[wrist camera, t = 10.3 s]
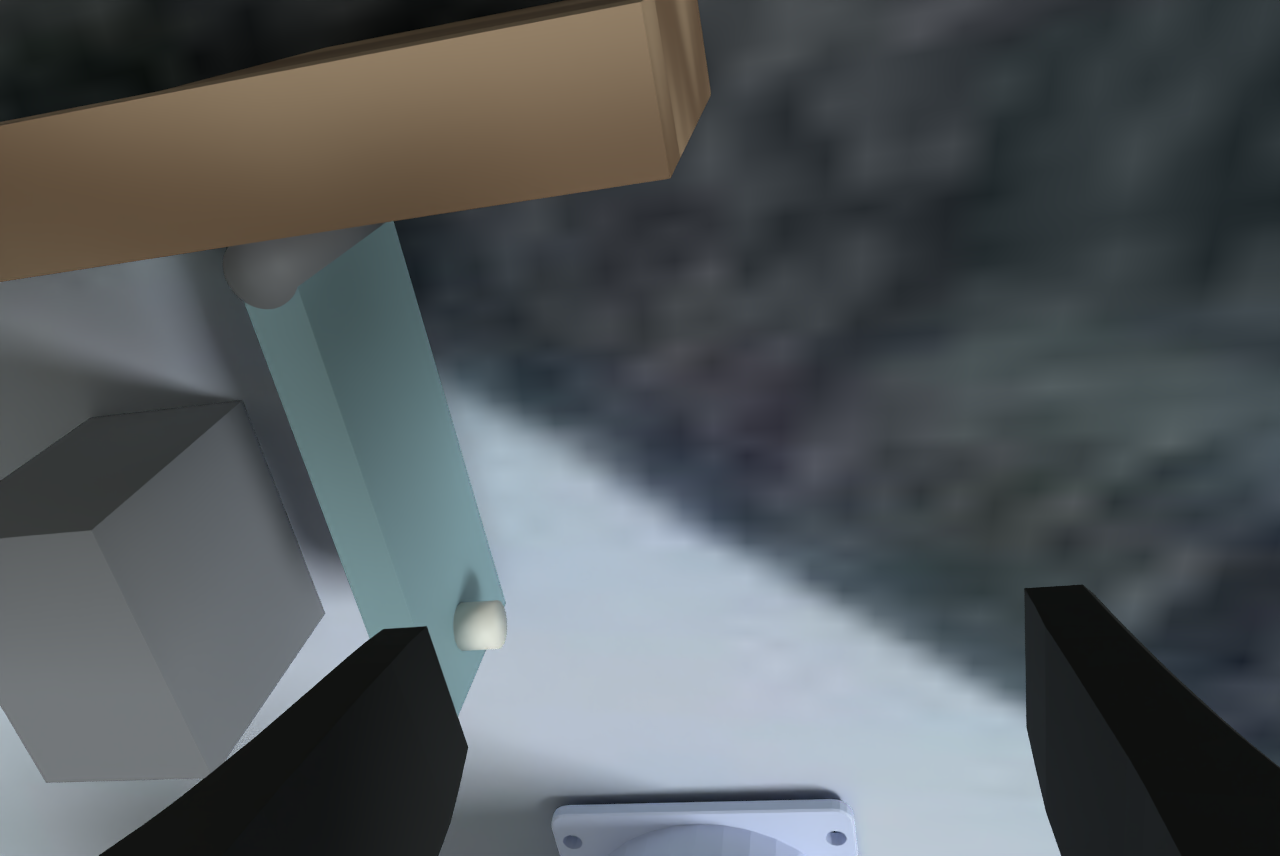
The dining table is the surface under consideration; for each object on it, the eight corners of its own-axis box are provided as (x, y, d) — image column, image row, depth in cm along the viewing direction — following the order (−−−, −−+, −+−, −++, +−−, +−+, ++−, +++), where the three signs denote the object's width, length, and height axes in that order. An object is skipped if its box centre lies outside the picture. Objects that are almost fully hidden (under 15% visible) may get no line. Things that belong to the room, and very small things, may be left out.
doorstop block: (325, 612, 25) (212, 778, 20) (187, 620, 26) (45, 782, 21) (243, 399, 22) (91, 530, 17) (92, 416, 23) (-94, 547, 18)
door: (328, 178, 19) (211, 242, 15) (418, 163, 19) (322, 224, 15) (463, 603, 24) (399, 737, 20) (539, 598, 23) (488, 733, 19)
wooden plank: (711, 94, 18) (670, 178, 12) (-247, 258, 22) (-622, 377, 16) (693, -25, 17) (640, 2, 11) (-298, 170, 21) (-713, 263, 16)
